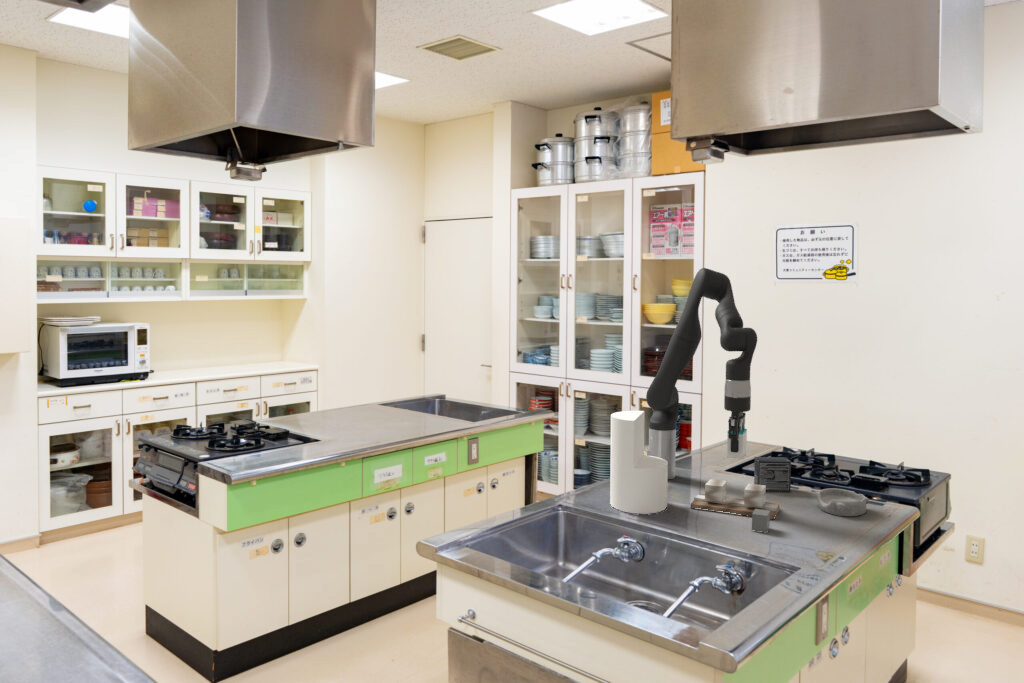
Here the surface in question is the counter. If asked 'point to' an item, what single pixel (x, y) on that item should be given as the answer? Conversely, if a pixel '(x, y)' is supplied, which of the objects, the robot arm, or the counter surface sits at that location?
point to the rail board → (734, 499)
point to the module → (742, 445)
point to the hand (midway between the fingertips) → (736, 449)
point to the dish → (842, 502)
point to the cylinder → (635, 467)
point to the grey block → (761, 520)
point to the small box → (773, 473)
